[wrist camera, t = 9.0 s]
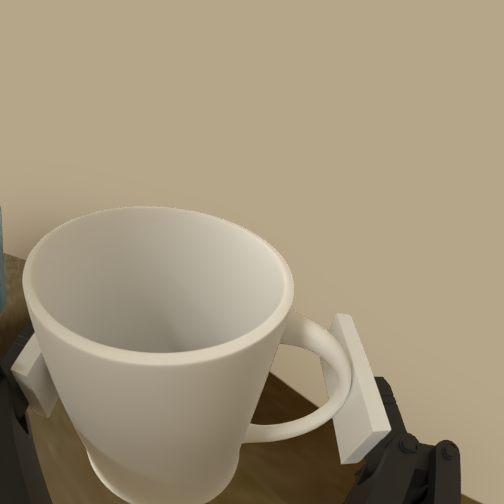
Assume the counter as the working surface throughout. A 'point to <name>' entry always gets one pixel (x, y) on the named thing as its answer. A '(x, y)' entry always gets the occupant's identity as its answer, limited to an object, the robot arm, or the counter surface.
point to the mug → (168, 344)
